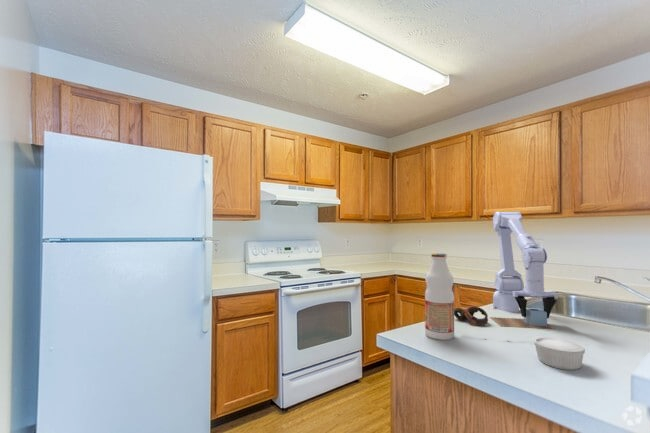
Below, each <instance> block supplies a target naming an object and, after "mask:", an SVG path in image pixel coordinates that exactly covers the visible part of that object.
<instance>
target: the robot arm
mask: <svg viewBox="0 0 650 433" xmlns="http://www.w3.org/2000/svg"><path fill="white" fill-rule="evenodd" d="M522 222H523V216H522V214H521V212H520V211H495V212H494V214H493V217H492V224H493V230H494V232H496V233H497V238H498V239H497V241H498V249H499V260H500V267H501V269H500V270H499V271H498V272H497V273H495V278H494V279H495V280H494V286H495V289H496V290H495V291H494V293H493V295H492V300H493V301H492V304H493V305H492V306H493V307H492V308H493V310H499V311H502V312H509V313H519V312H520V313H521V316H522V317H523V318H524V317H526V308H527V305H528V299H526V298H536V299H537V298H541V299H542V305H543V306H542V307H543V311H545V312H547V319H549V318H550V316H551V315H550V314H551V311H552V310H553V308H554V306H555V304H556V303H557V300H558V299H559V296H558V294H559V293H557V292H552V291H551V292H550V291H545V284H544V283H545V276H544V274H545V273H544V272H545V271H544V266H545V265H544V264H545V263H547V260H548V253H547V251H546V249H545V248H544V247H542V246H540V245H538V244H537V242H536V241H535V239H534V238H533V237H532V235H531V234H529V233H527V231H526V230H525V228H524V226H523V224H522ZM512 233H513V234H514V235H515V237H516V238H515V242H516V243H517V244H516V245H518V248H519V249H520V251H521V259H522V263H523V267H524V269H525V271H524V272H525V276H524V277H525V283H524V281H523V277H522V274H521V273H520V272H519V271H517V270H516V269H515V261H514V254H513V253H514V252H513V245H512V244H513V243H512V237H511V236H512V235H511V234H512ZM524 289H525V290H524Z"/></svg>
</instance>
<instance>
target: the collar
mask: <svg viewBox="0 0 650 433" xmlns="http://www.w3.org/2000/svg"><path fill="white" fill-rule="evenodd" d="M523 319H524V321H525V322H526V323H528V324H529V325H531V326H547V324H548V318H547V312H545V311H544V309H541V308H533V307H526V317H523Z"/></svg>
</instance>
